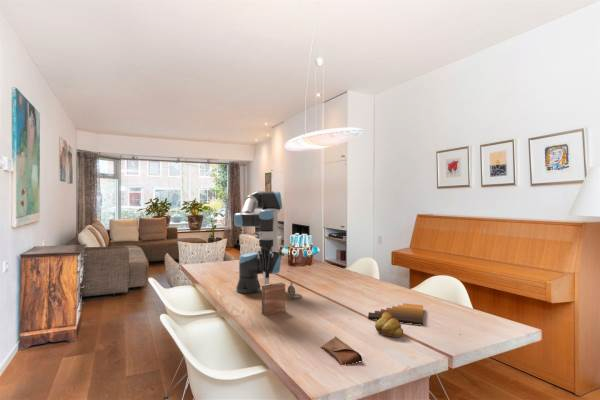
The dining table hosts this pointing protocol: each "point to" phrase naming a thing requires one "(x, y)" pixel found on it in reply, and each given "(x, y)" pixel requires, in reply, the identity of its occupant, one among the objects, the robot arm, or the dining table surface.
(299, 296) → the pocket watch
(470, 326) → the dining table surface
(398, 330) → the bread roll
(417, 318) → the pan flute
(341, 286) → the dining table surface
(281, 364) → the dining table surface
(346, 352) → the sunglasses case
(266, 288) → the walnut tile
